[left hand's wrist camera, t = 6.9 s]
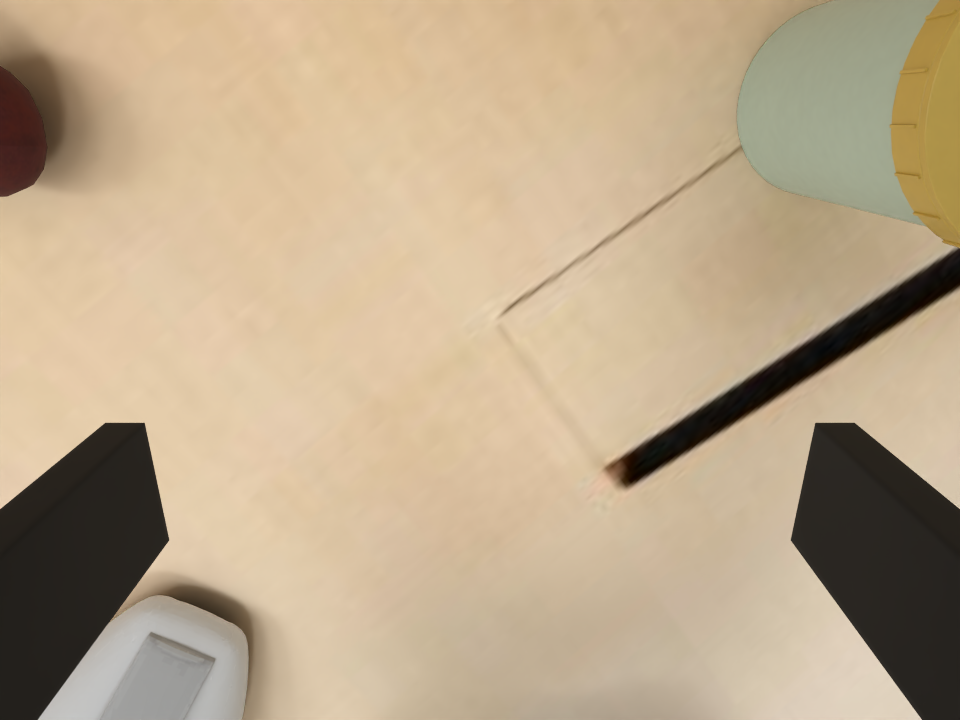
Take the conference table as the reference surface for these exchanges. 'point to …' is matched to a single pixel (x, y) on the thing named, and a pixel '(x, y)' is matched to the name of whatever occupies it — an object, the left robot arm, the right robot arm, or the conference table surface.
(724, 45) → the conference table surface
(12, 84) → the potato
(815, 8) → the jar
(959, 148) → the lid
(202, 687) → the projector
